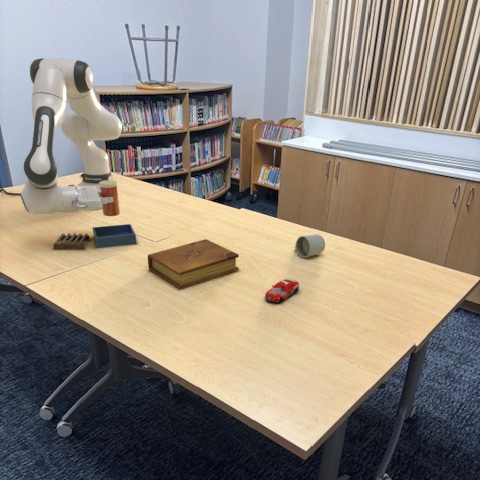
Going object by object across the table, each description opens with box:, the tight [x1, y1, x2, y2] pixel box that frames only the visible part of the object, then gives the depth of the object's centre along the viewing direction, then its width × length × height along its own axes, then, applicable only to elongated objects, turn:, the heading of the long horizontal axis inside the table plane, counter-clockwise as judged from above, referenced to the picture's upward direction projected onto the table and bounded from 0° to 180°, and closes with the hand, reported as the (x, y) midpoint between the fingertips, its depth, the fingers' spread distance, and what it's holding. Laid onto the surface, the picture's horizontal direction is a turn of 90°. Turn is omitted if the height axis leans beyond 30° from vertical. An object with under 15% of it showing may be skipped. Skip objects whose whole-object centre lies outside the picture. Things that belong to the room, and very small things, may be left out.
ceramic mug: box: [294, 233, 326, 259], centre depth 170 cm, size 11×8×8 cm
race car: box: [264, 278, 300, 304], centre depth 141 cm, size 13×5×4 cm, turn 140°
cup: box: [99, 179, 121, 217], centre depth 172 cm, size 6×6×12 cm
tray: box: [92, 223, 138, 249], centre depth 179 cm, size 14×12×4 cm
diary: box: [147, 238, 240, 290], centre depth 156 cm, size 23×19×6 cm
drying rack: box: [52, 232, 91, 250], centre depth 175 cm, size 10×10×2 cm
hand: (112, 196), depth 172 cm, fingers closed on cup, 6 cm apart
